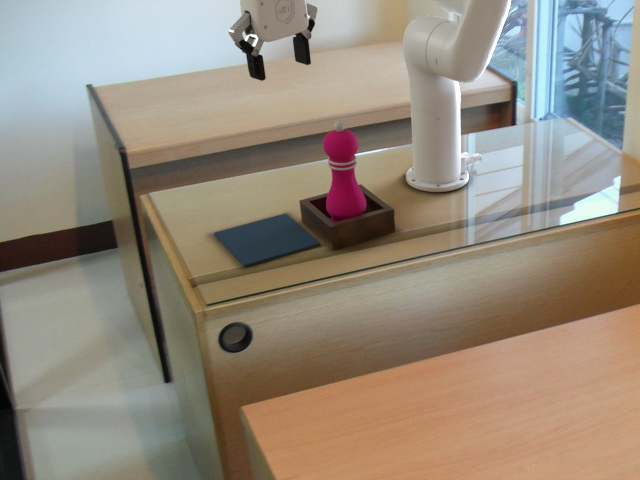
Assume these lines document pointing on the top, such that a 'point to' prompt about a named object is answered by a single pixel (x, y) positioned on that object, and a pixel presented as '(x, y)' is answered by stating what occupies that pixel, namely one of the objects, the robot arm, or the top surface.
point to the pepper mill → (343, 175)
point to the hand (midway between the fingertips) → (281, 70)
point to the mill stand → (347, 221)
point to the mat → (266, 239)
